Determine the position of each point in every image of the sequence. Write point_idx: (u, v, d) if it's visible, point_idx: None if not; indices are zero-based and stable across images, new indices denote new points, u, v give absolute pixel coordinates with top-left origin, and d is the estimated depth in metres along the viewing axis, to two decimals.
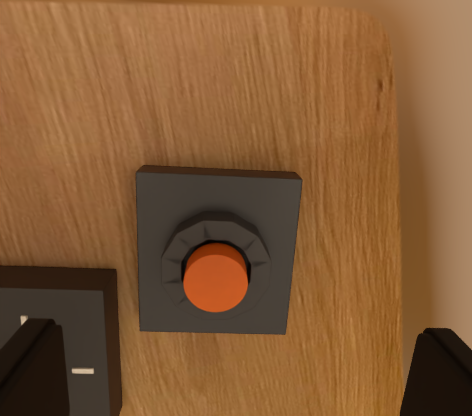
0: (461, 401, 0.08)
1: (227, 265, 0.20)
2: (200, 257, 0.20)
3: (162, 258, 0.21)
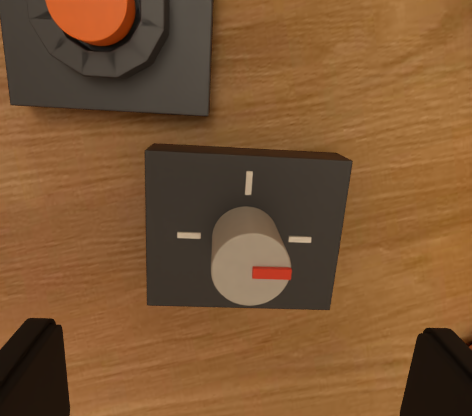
0: (461, 401, 0.08)
1: None
2: (51, 16, 0.16)
3: (82, 73, 0.18)
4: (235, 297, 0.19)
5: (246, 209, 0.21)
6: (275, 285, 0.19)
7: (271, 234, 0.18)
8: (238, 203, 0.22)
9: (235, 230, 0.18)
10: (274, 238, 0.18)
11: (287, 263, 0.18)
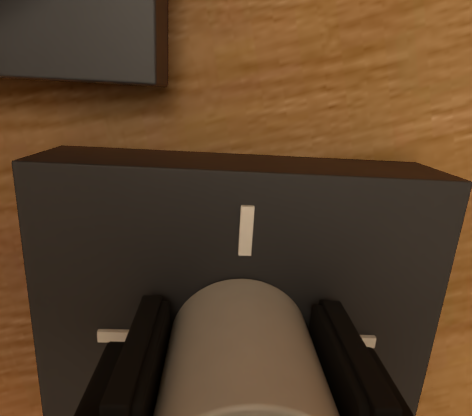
0: (330, 359, 0.09)
1: None
2: None
3: None
4: None
5: (242, 289, 0.10)
6: None
7: (305, 393, 0.07)
8: (224, 272, 0.10)
9: (206, 380, 0.07)
10: (315, 412, 0.06)
11: None
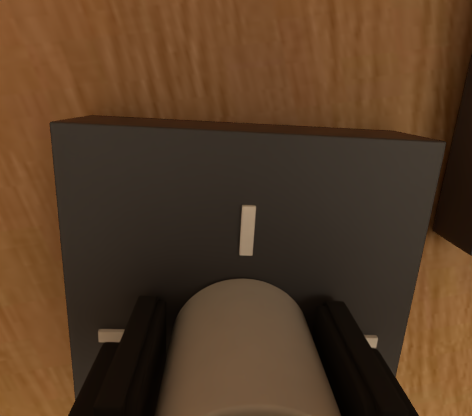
0: (334, 360, 0.09)
1: None
2: None
3: None
4: None
5: (243, 289, 0.10)
6: None
7: (308, 394, 0.07)
8: (311, 323, 0.11)
9: (208, 379, 0.07)
10: (318, 413, 0.06)
11: None
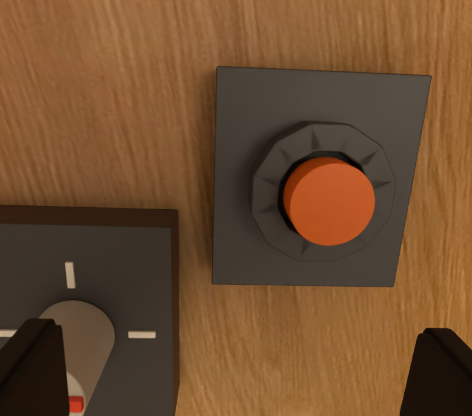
0: (461, 401, 0.08)
1: (350, 178, 0.15)
2: (315, 168, 0.15)
3: (255, 177, 0.16)
4: None
5: (66, 307, 0.18)
6: None
7: None
8: (116, 324, 0.19)
9: None
10: None
11: (78, 391, 0.15)
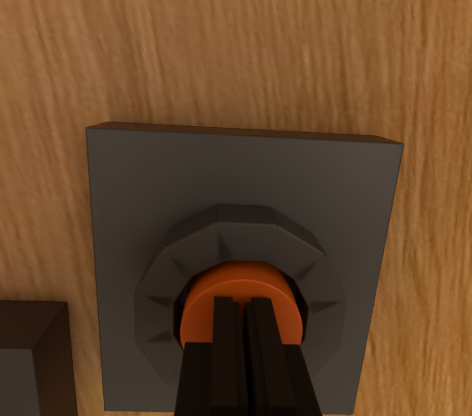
0: (248, 357, 0.09)
1: None
2: (213, 285, 0.10)
3: (136, 296, 0.11)
4: None
5: None
6: None
7: None
8: None
9: None
10: None
11: None
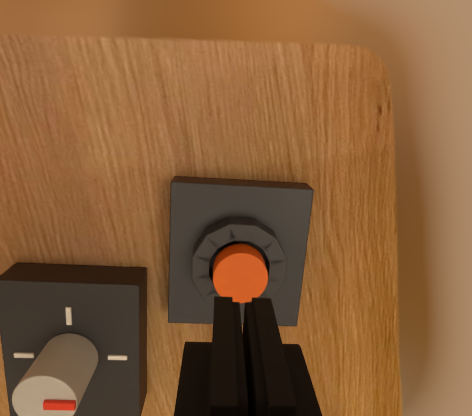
0: (248, 357, 0.09)
1: (251, 262, 0.24)
2: (228, 255, 0.23)
3: (193, 256, 0.25)
4: None
5: (65, 338, 0.26)
6: (65, 413, 0.23)
7: (61, 373, 0.23)
8: (100, 350, 0.28)
9: (34, 369, 0.23)
10: (60, 378, 0.23)
11: (72, 397, 0.23)
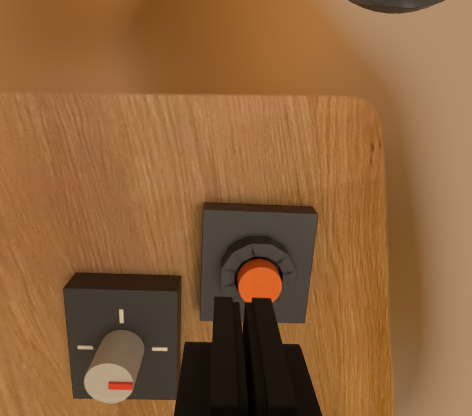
0: (248, 357, 0.09)
1: (268, 274, 0.30)
2: (250, 269, 0.30)
3: (222, 269, 0.31)
4: (100, 398, 0.30)
5: (119, 333, 0.33)
6: (124, 392, 0.30)
7: (121, 361, 0.30)
8: (145, 343, 0.34)
9: (99, 358, 0.30)
10: (121, 365, 0.30)
11: (130, 379, 0.30)
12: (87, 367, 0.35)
